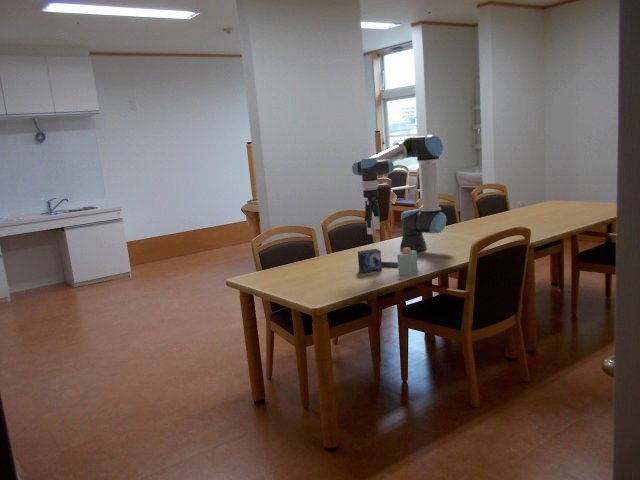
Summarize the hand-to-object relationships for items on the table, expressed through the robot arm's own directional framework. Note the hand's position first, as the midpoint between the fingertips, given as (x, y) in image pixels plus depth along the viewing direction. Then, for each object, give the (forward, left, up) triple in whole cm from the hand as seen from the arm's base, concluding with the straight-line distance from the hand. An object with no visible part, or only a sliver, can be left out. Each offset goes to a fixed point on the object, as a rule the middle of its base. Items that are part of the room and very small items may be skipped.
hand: (373, 231), depth 272 cm
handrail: (-10, +2, -20) cm, 23 cm away
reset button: (0, +17, -13) cm, 21 cm away
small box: (0, -4, -21) cm, 21 cm away
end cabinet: (0, +17, -20) cm, 26 cm away
